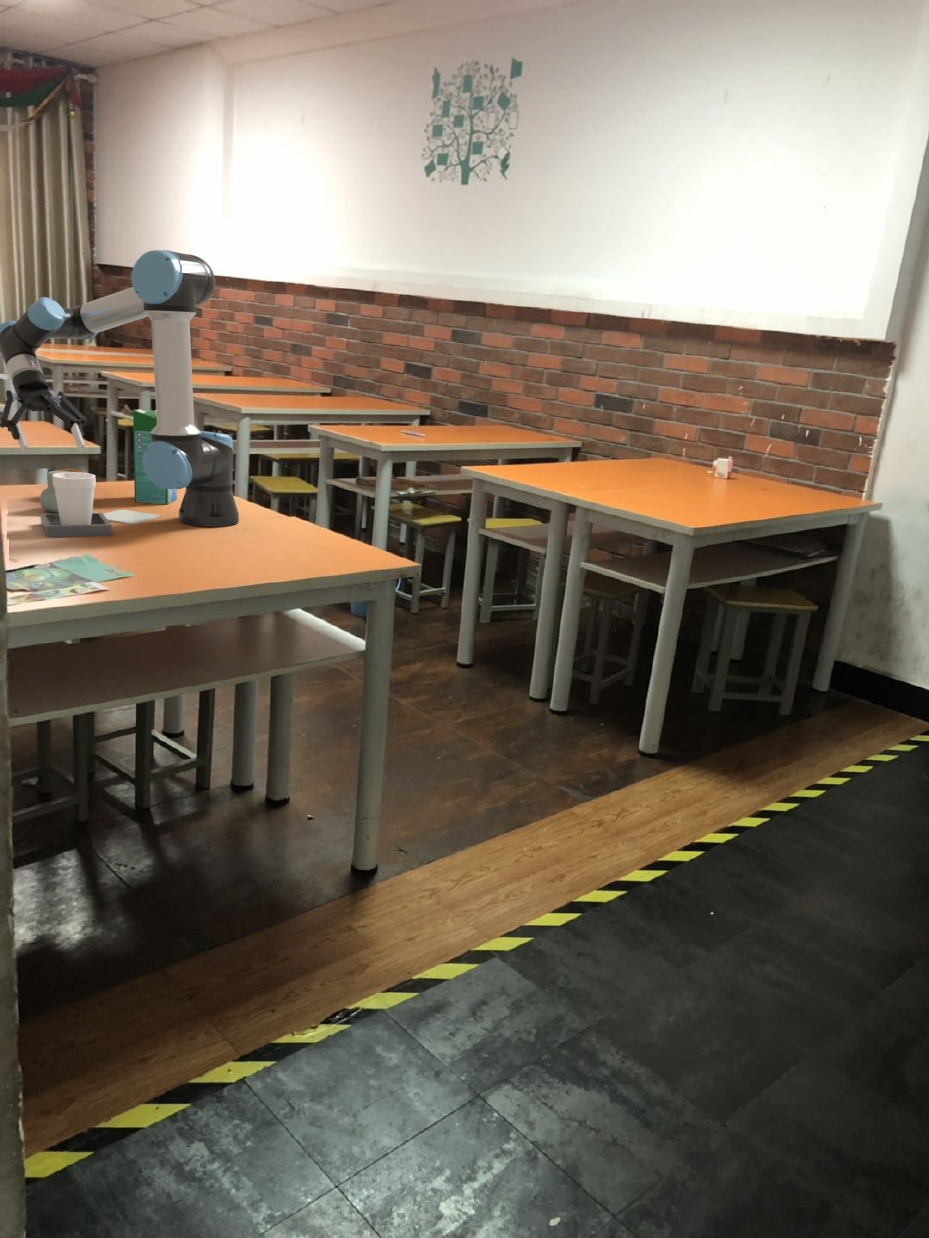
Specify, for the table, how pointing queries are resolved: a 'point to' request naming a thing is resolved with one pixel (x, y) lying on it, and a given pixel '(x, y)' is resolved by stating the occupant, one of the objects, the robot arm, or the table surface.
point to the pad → (129, 516)
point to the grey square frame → (76, 526)
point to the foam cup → (74, 497)
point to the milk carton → (142, 439)
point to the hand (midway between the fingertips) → (54, 449)
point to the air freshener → (50, 494)
